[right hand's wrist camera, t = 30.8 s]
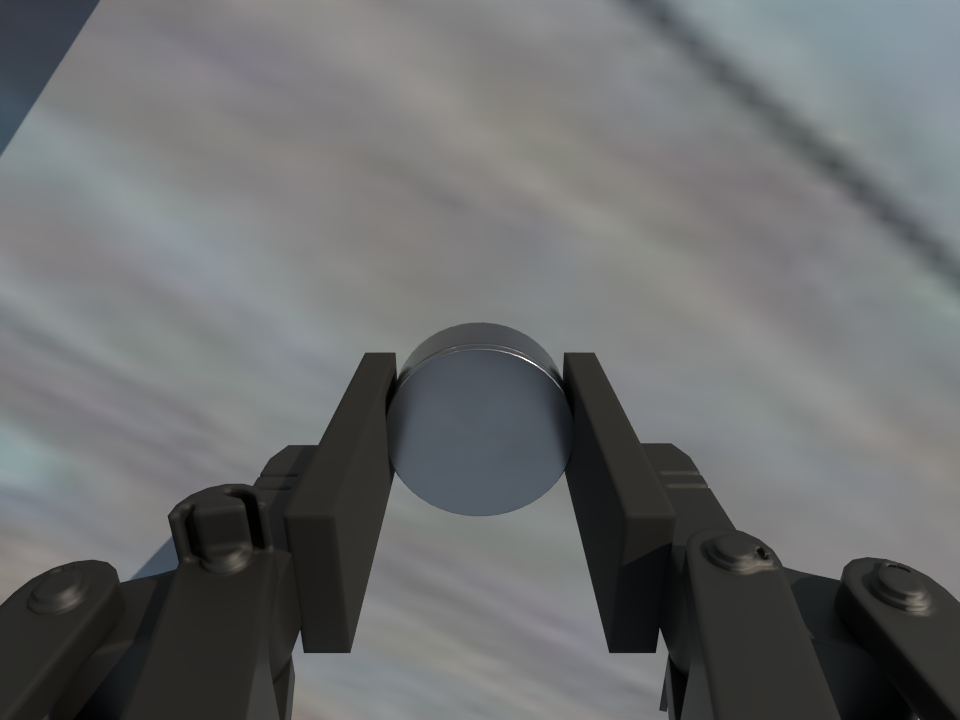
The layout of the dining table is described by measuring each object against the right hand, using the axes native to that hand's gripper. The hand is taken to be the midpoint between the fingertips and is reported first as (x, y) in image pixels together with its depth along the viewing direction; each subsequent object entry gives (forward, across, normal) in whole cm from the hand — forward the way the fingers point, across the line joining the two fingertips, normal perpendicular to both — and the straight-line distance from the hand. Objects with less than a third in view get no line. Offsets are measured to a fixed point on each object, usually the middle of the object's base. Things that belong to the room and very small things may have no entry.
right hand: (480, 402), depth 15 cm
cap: (-2, 0, 0) cm, 2 cm away
